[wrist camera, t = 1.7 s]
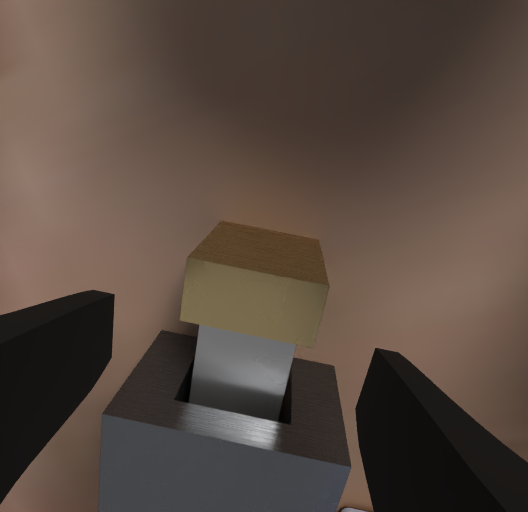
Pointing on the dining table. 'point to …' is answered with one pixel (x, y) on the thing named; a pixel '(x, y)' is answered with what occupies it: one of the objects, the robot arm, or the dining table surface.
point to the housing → (220, 443)
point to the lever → (251, 314)
